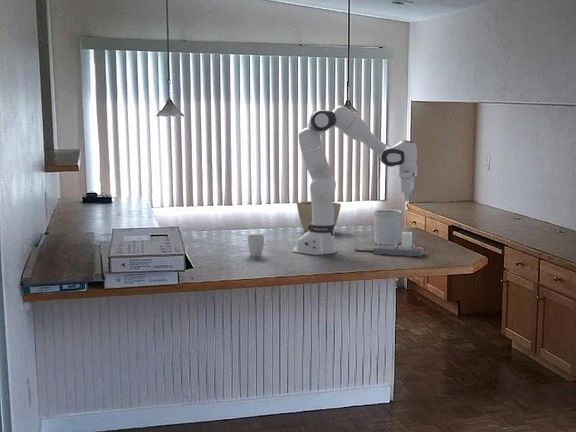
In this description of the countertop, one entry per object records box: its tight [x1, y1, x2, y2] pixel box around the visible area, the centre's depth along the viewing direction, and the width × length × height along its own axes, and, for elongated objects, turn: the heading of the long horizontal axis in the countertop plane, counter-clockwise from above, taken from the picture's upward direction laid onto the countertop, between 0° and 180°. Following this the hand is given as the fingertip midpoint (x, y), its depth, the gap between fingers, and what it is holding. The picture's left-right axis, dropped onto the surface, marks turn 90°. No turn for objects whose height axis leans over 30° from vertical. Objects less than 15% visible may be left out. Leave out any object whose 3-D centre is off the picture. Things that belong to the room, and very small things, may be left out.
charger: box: [401, 231, 413, 248], centre depth 356 cm, size 4×4×8 cm
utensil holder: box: [373, 208, 402, 245], centre depth 384 cm, size 15×15×18 cm
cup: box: [247, 234, 265, 258], centre depth 352 cm, size 8×8×10 cm
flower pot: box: [296, 200, 342, 232], centre depth 418 cm, size 19×19×17 cm
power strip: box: [354, 243, 425, 258], centre depth 360 cm, size 35×8×4 cm, turn 73°
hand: (408, 199), depth 359 cm, fingers open, 8 cm apart
